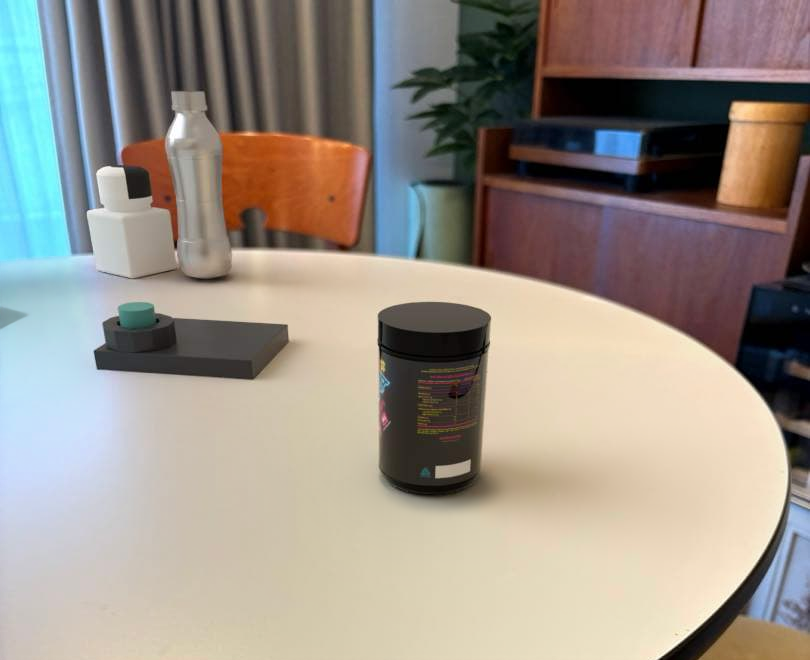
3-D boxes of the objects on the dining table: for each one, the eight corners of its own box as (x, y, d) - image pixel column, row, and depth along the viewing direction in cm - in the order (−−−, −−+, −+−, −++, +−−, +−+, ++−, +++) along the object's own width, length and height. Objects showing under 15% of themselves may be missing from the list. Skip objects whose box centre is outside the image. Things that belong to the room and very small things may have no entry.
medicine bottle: (141, 261, 108) (127, 161, 102) (178, 269, 105) (165, 166, 99) (95, 271, 103) (77, 166, 97) (132, 279, 100) (115, 171, 94)
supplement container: (443, 446, 58) (448, 296, 53) (502, 483, 53) (515, 322, 48) (359, 467, 55) (356, 310, 50) (414, 509, 50) (417, 339, 45)
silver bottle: (214, 269, 105) (196, 90, 95) (245, 278, 101) (229, 92, 91) (169, 276, 101) (145, 91, 91) (199, 286, 97) (178, 93, 87)
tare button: (114, 330, 71) (111, 309, 70) (130, 320, 73) (127, 301, 72) (148, 332, 70) (144, 311, 69) (162, 322, 73) (159, 302, 72)
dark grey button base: (96, 369, 71) (89, 329, 69) (149, 333, 81) (144, 297, 79) (252, 380, 69) (249, 339, 68) (289, 341, 79) (286, 304, 77)
